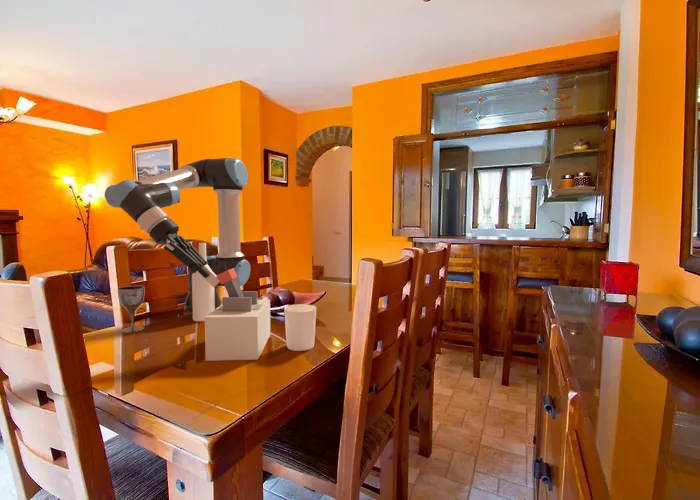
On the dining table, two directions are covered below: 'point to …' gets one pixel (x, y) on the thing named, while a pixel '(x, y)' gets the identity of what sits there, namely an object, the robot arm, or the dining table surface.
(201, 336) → the dining table surface
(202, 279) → the bottle
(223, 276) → the toggle
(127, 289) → the wine glass
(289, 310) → the candle holder
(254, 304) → the box
